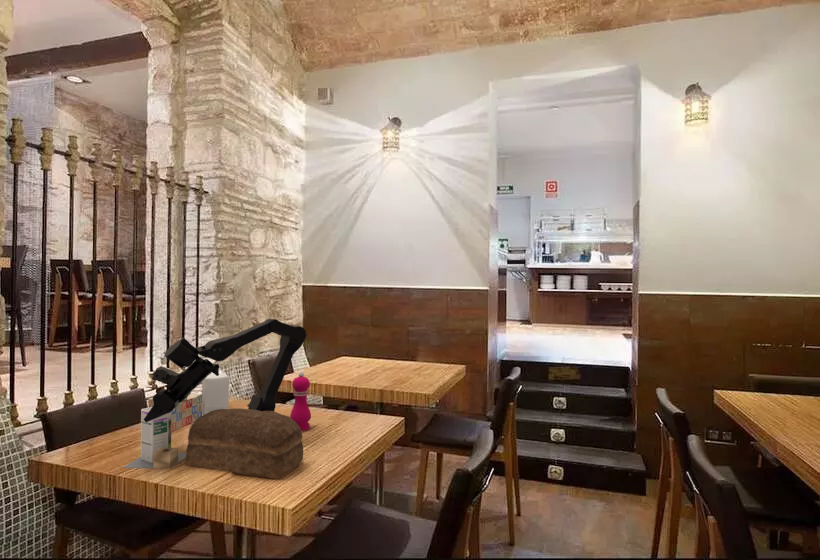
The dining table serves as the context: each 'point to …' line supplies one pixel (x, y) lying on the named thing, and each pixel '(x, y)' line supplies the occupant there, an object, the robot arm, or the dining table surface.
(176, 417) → the stack of blocks
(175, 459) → the oak block
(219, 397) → the supplement box
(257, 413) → the bread
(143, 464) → the slate board
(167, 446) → the syrup box
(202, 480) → the dining table surface
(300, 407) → the pepper mill
